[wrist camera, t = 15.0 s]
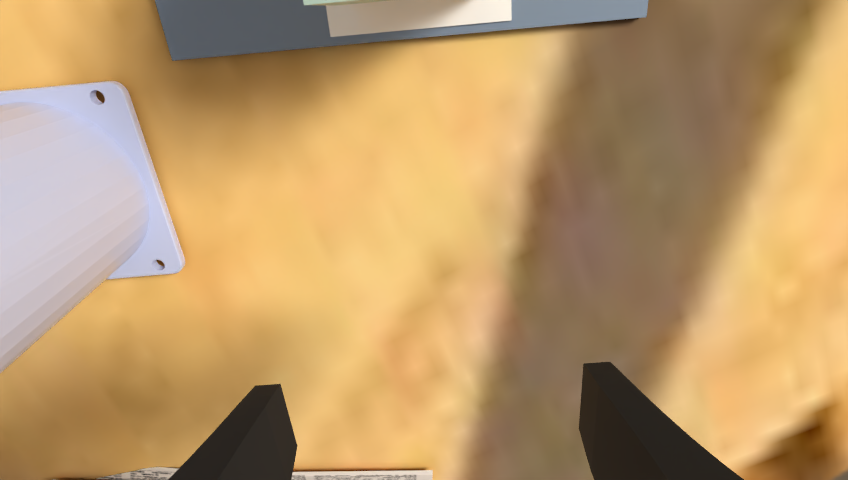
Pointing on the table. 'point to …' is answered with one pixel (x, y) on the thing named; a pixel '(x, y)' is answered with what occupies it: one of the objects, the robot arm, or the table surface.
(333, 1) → the sage block
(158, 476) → the newspaper
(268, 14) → the board
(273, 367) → the table surface
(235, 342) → the table surface
